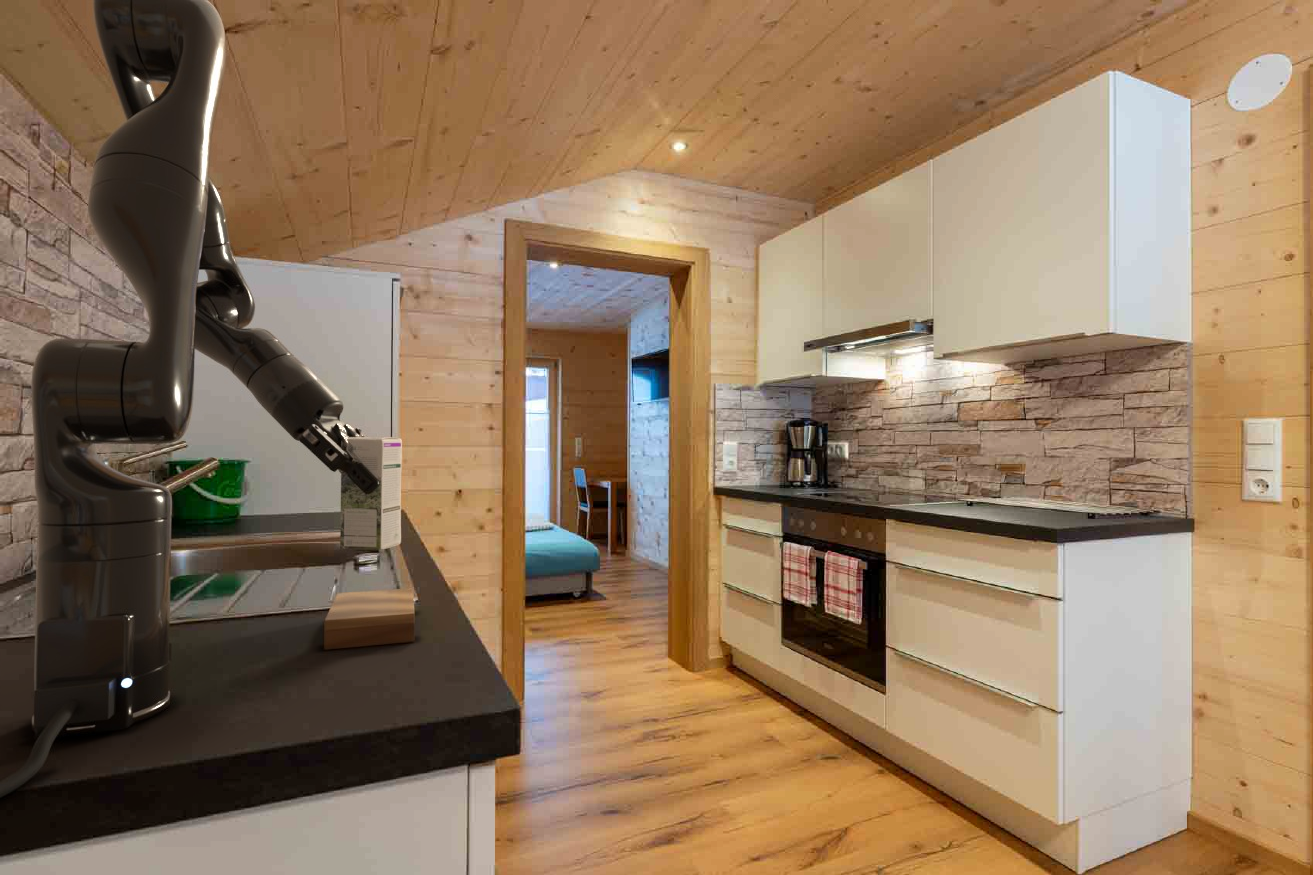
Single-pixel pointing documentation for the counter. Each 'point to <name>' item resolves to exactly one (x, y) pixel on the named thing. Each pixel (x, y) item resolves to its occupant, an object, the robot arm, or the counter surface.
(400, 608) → the shelf
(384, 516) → the syrup box
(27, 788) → the counter surface
